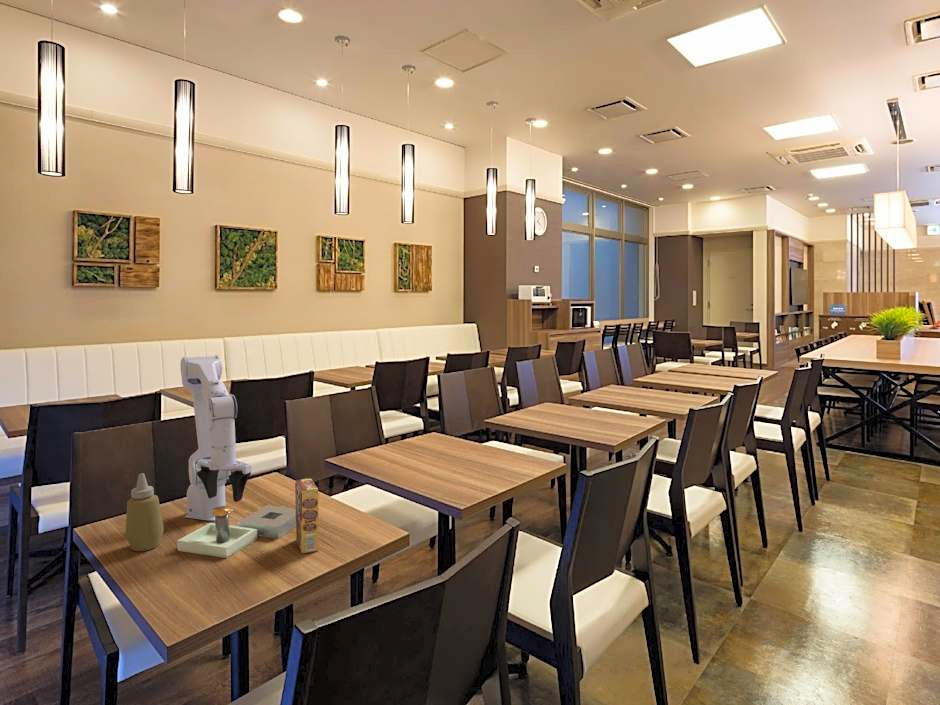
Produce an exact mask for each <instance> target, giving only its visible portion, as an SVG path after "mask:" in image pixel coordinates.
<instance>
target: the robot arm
mask: <svg viewBox="0 0 940 705" xmlns="http://www.w3.org/2000/svg"><path fill="white" fill-rule="evenodd" d="M180 374H181V375H180V376H181V384H182V386H183V389H186V390H188V391H189V392H190V394H191V397H192V402H193V411H194V412H193V413H194V419H195V429H196V437H197V446H198V449H197V450H196V451H195V452H194V453H192V454H191V455H190V457H189V458H188V478H189V482H190V485H188V488H187V490H186V508H187V509H186V512H187V514H186V515H185V516H184V517H185V518H187V519H193V520H200V521H209V522H215V516H213V515H212V510H213V509H214V508H216V507H219V506H227V505H226V504H227V503H226V485H225V484H226V483H227V481H228V480H229V481H230V482H229V483H230V486H231V487H232V498H233V502H235V503H237V502H239V501H241V500H242V499H243V495H244V491H245V487H246V484H247V482H248V481H249V480H248V479H249V478H250V476H251V475H252V464H251V463H246V462H243V461H240V460H237V454H236V453H237V452H236V450H237V449H236V448H237V446H236V445H237V444H236V426H235V421H236V420H235V419H237V417H238V402H237V398H236V396H235V395H234V394H232V393H229V391H228V389H227V387H226V384H225V382H223V381H222V380H221V377H222V374H223V361H222V358H221V357H220V356H219V355H218V354H216V355H207V356H187V357H186V356H182V358H181V359H180ZM231 472H234V473H232V474H231ZM233 511H234V509H232V508H231V513H232V512H233Z"/></svg>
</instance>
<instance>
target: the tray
mask: <svg viewBox="0 0 940 705" xmlns="http://www.w3.org/2000/svg"><path fill="white" fill-rule="evenodd" d="M229 539H230V540H229V541H228V542H225V543H217V542H216V525H215V522H214V523H213V522H209V523H207V524H205V525H204V526H201V527H199V528H198V529H196V530H194V531H192V532H189V533H188V534H186V535H185V536H183V537H181V538H179V539H177V540H176V543H177V545H176V546H177V551H179V552H184V553H185V552H186V553H192V554H198V555H203V556H204V555H205V556H211V557H216V558H222V559H228V558H230V557H231V556H233V555H234V554H236V553H238V552H239V551H241V550H242V549H244V548H245V547H247V546H248V545H250V544H251V543H254V542H255V541H256V540H258V536H257V529H252V528H245V527H238V525H231V524H229Z"/></svg>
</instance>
